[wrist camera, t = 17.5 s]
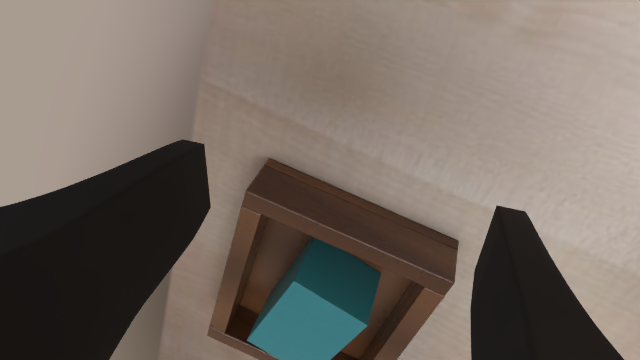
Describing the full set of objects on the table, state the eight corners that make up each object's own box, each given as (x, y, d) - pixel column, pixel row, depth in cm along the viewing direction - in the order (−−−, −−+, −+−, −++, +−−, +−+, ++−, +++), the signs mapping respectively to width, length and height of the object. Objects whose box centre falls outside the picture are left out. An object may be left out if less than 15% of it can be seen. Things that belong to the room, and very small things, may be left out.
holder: (370, 366, 30) (361, 407, 28) (227, 300, 31) (206, 336, 29) (458, 241, 23) (455, 283, 21) (268, 157, 24) (245, 190, 21)
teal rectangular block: (270, 292, 28) (246, 340, 26) (315, 232, 25) (293, 281, 22) (328, 327, 29) (310, 378, 26) (381, 272, 25) (367, 326, 22)
